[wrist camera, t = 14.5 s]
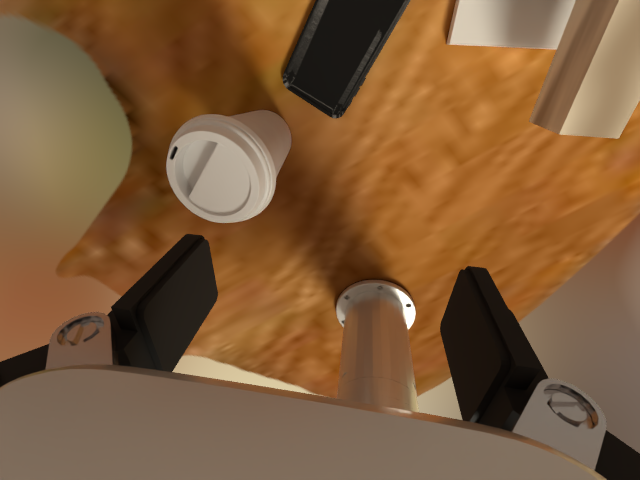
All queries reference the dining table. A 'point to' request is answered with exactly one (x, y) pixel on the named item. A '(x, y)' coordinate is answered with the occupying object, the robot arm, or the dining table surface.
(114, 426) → the robot arm
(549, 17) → the ridge stand
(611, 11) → the beam
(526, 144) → the dining table surface
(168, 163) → the coffee cup
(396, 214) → the dining table surface
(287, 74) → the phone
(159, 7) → the dining table surface
